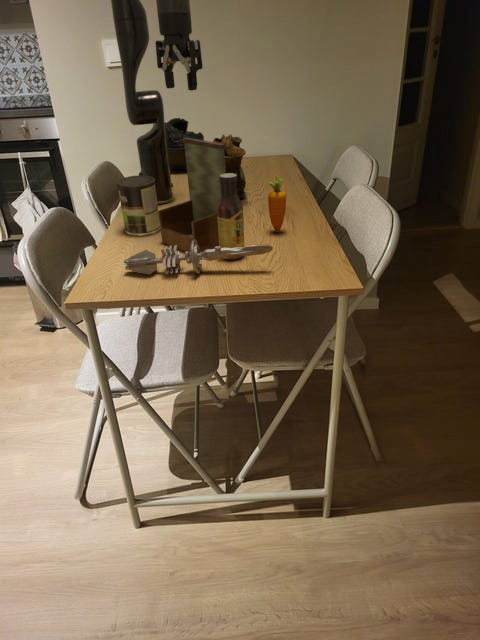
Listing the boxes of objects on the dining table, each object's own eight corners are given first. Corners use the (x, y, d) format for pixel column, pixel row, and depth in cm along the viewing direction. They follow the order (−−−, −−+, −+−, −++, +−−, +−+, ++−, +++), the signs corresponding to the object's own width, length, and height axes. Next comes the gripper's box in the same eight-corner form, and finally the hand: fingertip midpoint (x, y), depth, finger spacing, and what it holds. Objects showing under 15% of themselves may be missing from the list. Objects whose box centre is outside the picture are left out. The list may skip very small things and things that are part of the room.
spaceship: (271, 248, 101) (270, 222, 106) (115, 266, 106) (120, 240, 110) (275, 272, 108) (273, 247, 112) (128, 288, 112) (132, 263, 116)
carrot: (281, 236, 127) (281, 180, 119) (265, 233, 129) (264, 178, 122) (289, 230, 131) (290, 175, 123) (273, 227, 133) (273, 173, 125)
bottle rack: (162, 243, 127) (149, 146, 114) (195, 230, 134) (187, 137, 121) (196, 257, 118) (186, 153, 105) (230, 242, 125) (224, 144, 112)
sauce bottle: (242, 261, 115) (238, 179, 104) (217, 260, 116) (211, 179, 105) (247, 250, 120) (244, 171, 110) (223, 249, 121) (218, 171, 111)
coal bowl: (197, 160, 203) (193, 113, 194) (214, 170, 188) (210, 119, 178) (152, 166, 197) (145, 118, 187) (165, 178, 181) (159, 126, 171)
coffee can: (129, 238, 130) (120, 188, 123) (122, 226, 139) (113, 178, 131) (165, 231, 134) (158, 182, 126) (156, 220, 142) (149, 173, 134)
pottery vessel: (214, 186, 169) (209, 127, 159) (244, 185, 169) (242, 126, 159) (214, 209, 148) (209, 143, 137) (248, 207, 148) (246, 141, 138)
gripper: (142, 12, 110) (151, 89, 119) (181, 9, 101) (188, 92, 110) (167, 11, 115) (175, 86, 123) (206, 8, 106) (212, 88, 115)
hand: (181, 89), depth 117 cm, fingers open, 8 cm apart
